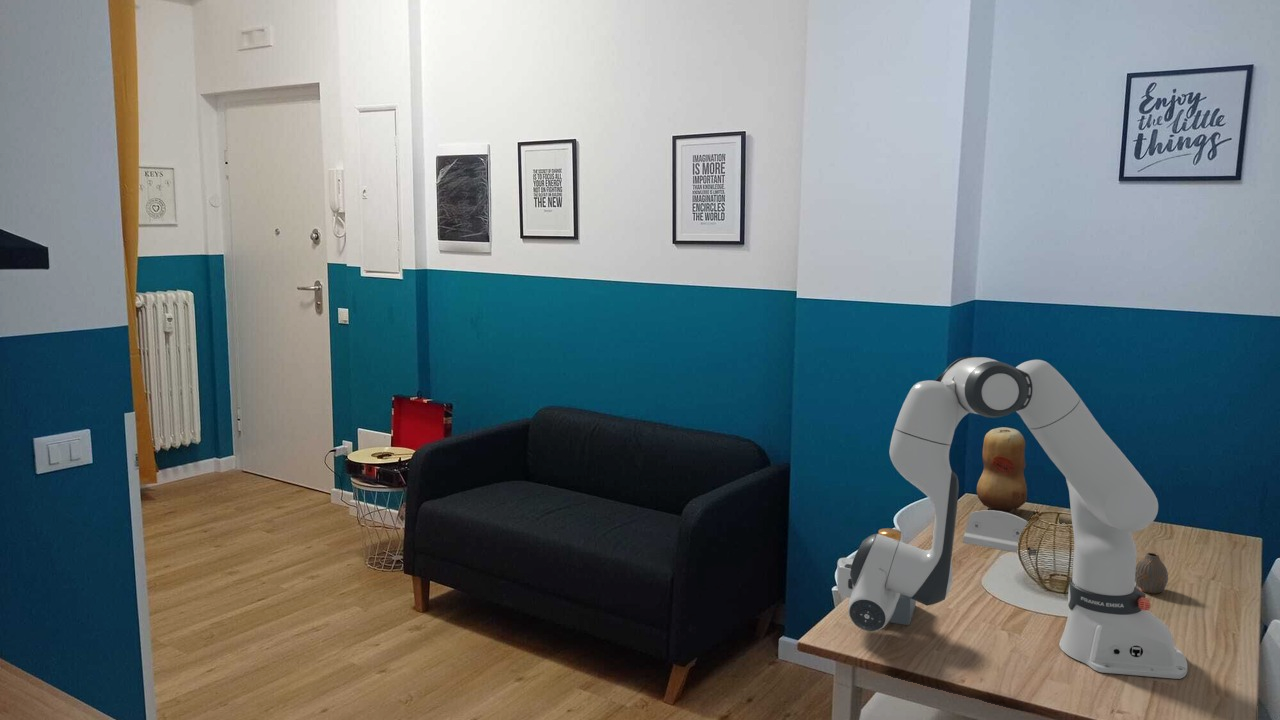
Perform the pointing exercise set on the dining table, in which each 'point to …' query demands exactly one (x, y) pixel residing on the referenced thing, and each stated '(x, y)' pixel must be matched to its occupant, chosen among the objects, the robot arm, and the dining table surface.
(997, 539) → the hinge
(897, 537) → the lynch pin
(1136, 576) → the vase
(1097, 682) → the dining table surface
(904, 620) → the hitch block
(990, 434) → the butternut squash
